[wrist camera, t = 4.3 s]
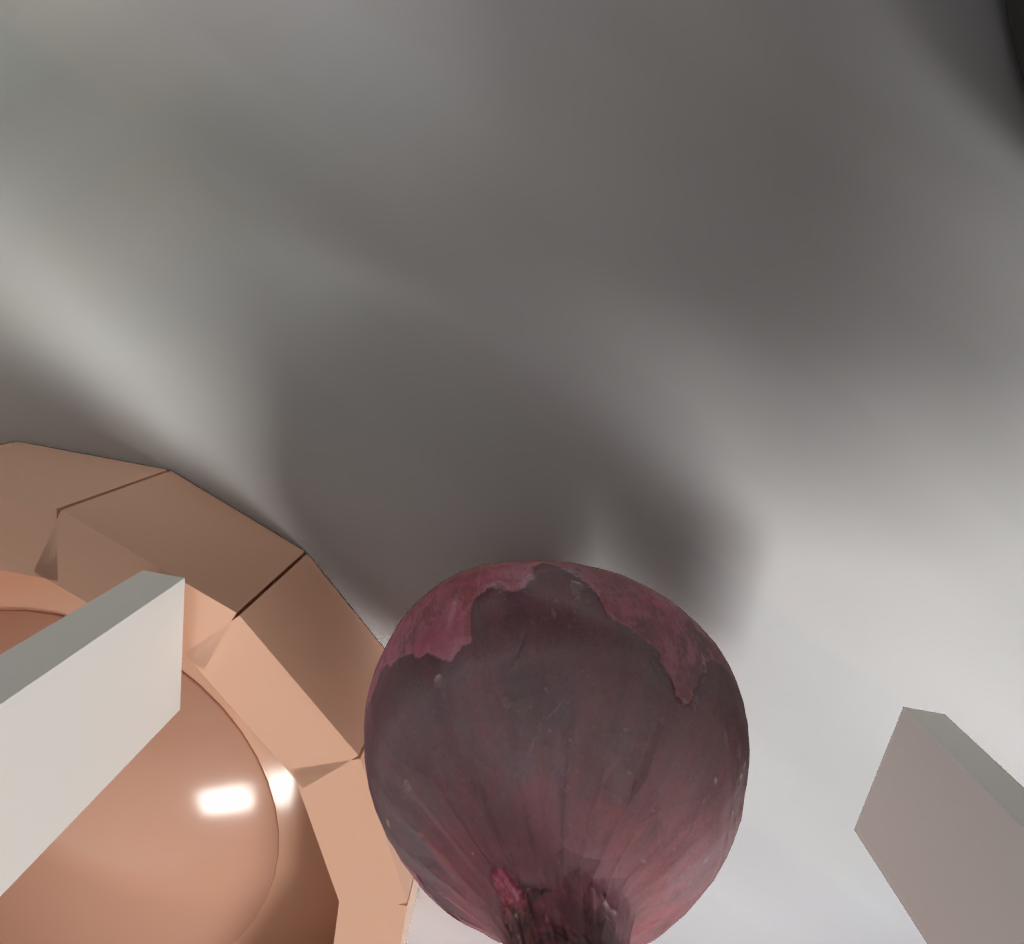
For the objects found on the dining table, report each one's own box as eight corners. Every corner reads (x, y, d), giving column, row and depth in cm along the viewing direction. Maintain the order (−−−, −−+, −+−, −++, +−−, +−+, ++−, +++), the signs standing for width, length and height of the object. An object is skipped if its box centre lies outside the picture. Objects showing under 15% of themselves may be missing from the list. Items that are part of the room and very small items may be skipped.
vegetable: (683, 733, 14) (1021, 1702, 4) (432, 736, 14) (185, 1618, 4) (686, 492, 12) (1218, 1076, 3) (407, 503, 13) (-35, 1042, 3)
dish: (-289, 384, 13) (-531, 397, 10) (480, 528, 13) (461, 585, 10) (-192, 967, 17) (-342, 1095, 14) (384, 1083, 17) (351, 1236, 14)
